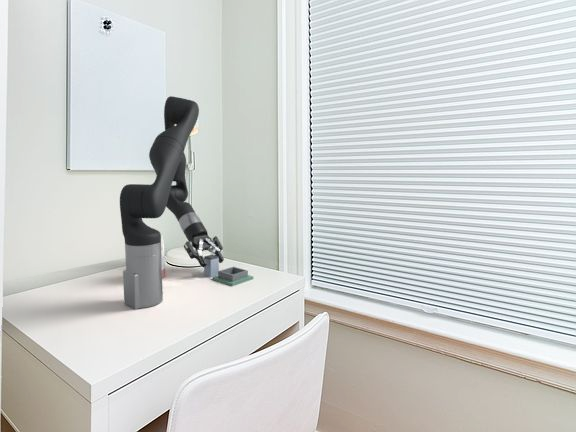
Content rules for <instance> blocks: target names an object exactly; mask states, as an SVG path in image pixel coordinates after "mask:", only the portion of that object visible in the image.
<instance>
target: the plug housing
mask: <svg viewBox="0 0 576 432" xmlns="http://www.w3.org/2000/svg"><path fill="white" fill-rule="evenodd" d="M203 257H204V259H205V261H206V263H207V265H206V266H205V267H203V268H204V270H203V272H204V273H203V275H204V276H206V277H208V278H212V277H215V276H218V271H220V270H219V268H220V266H219V265H220V263H219V256H216V255H215V254H209V255H204V256H203Z"/></svg>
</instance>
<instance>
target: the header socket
mask: <svg viewBox="0 0 576 432" xmlns="http://www.w3.org/2000/svg"><path fill="white" fill-rule="evenodd" d="M211 279H212V280H213V281H214V282H215V281H216V282H219V283H222V284H225V285H227V286H231V287H234V286H237V285H239V284H243V283H245V282H248V281H251V280H254V276H252V275H249V270H247V269H243V268H240V267H236V266H230V267H227V268H223V269H220V270H219V271H218V276H214V277H211Z"/></svg>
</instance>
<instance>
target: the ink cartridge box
mask: <svg viewBox="0 0 576 432" xmlns="http://www.w3.org/2000/svg"><path fill="white" fill-rule="evenodd" d="M161 256H162V279H164V277H165V276H166V261H165V260H166V259H165V257H166V256H165V241H164V236H163V235H161Z"/></svg>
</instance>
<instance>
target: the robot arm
mask: <svg viewBox="0 0 576 432" xmlns="http://www.w3.org/2000/svg"><path fill="white" fill-rule="evenodd" d="M163 108H164V110H163V120H164V121H163V122H164V131H162V132H160V133H159V134H158V135H157V136H156V137H155V139H154V141H153V143H152V145H151V147H150V149H149V153H148V157H149V161H150V164H151V166H152V168H153V170H154V172H155V175H156V177H155V180H154V182H153V183H151V184H142V183H141V184H140V183H139V184H138V183H136V184H135V183H133V184H131V183H130V184H126V185H123V187H122V189H121V191H120V194H119V209H120V220H121V230H122V231H121V232H122V235H123V237H124V251H125V254H124V255H125V269H124V270H123V271H122V282H123V284H122V285H123V300H124V301H123V303H124V304H125V305H126V306H127V307H129V308H131V309H134V310H137V309H143V308H144V309H145V308H150V307H153V306H157V305H159V304H160V303H162V302H163V297H164V296H163V295H164V291H163V278H162V256H161V236H162V234H161V232H160V231H159V230H158V229H156V228H153V227H150V226H149V225H147V224H146V223H145V221H143V219H158V218H160V217H161V216H162V215H163V214H164V213H165V210H166V208H167V209H168V211H170V212H171V213H172V214H173V215H174V216H175V219H176V220H177V222H178V224H179V226H180V228H181V231H182V232H183V235H184V236H185V237H186V239H187V241H186V242H185V243H184V244H183V247H184V250H185V251H186V253H187V255H188V256H189V259H191V260H192V259H195V260H197V261H198V263H199V265H200V267H202V268H204V267H205V266H206V265H207V263H206V261H205V259H204V256H203V255H202V253H203V252H204V251H208V252H210V253H212V254H213V255H216V256H219V264H223V262H224V259H225V258H224V256H223V254H222V250H223V249H224V247H223V245H222V243H221V242H220V240H219V238H218V236H215V235H214V237H210V236H209V234H208V230H207V229H206V227H205V225H204V224H203V222H202V220H201V219H200V217H199V215H197V212H196V211H195V210H194V208H193V206H192V205H191V204H190V203H189V202H187V199H188V197H189V191H188V186H187V181H186V166H187V157H186V155H185V149H186V145H187V143H188V140H189V137H190V136H191V134H192V132H193V130H194V128H195V126H196V124H197V122H198V118H199V113H200V108H199V104H198V103H197V102H196V101H194V100H191V99H187V98H184V97H177V96H171V95H170V96H168V97H167V98H166V100H165V103H164V107H163ZM173 182H175V184H174V185H173Z"/></svg>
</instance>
